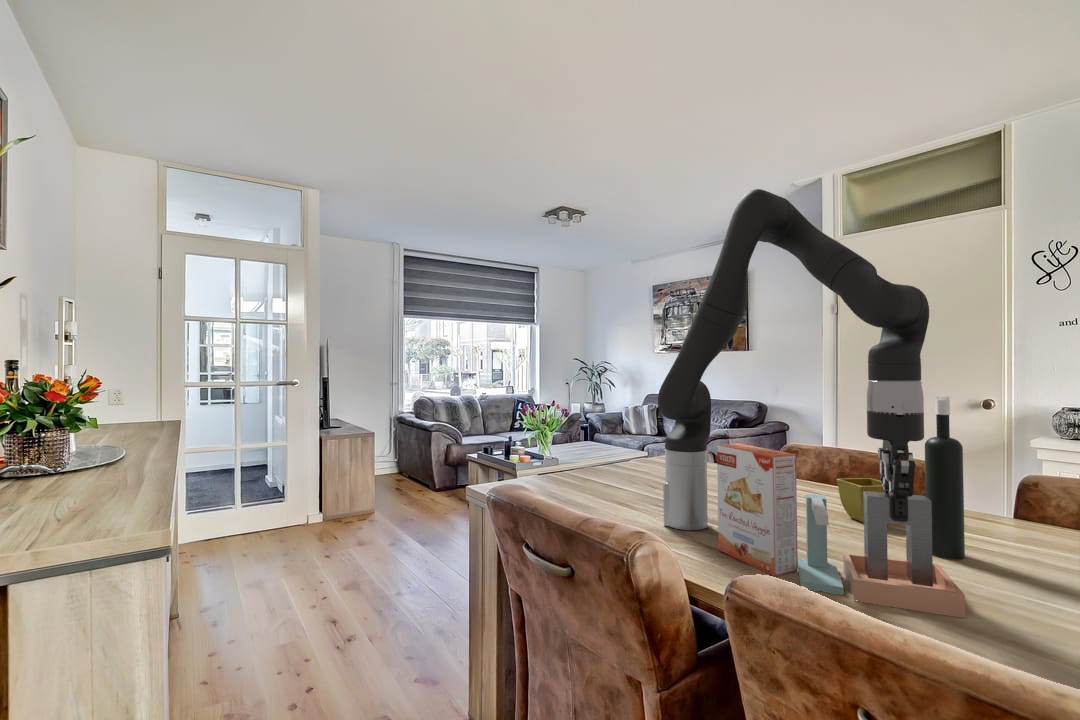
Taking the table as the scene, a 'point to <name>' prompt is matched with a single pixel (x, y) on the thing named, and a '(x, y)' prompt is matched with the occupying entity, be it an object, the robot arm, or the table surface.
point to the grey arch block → (915, 537)
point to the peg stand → (818, 550)
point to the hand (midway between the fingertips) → (896, 516)
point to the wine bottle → (945, 487)
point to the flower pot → (857, 494)
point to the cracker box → (758, 507)
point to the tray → (904, 588)
